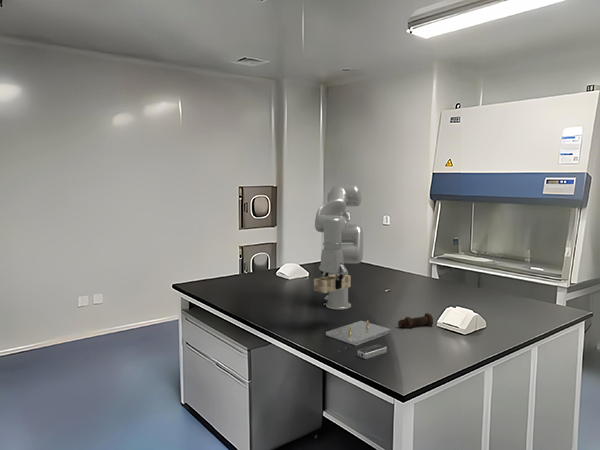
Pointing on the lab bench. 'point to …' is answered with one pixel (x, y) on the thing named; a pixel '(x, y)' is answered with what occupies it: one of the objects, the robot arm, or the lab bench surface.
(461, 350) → the lab bench surface
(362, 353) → the multiport hub
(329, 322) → the lab bench surface
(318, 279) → the tan rectangular block
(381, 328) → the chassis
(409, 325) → the bolt
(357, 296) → the lab bench surface
